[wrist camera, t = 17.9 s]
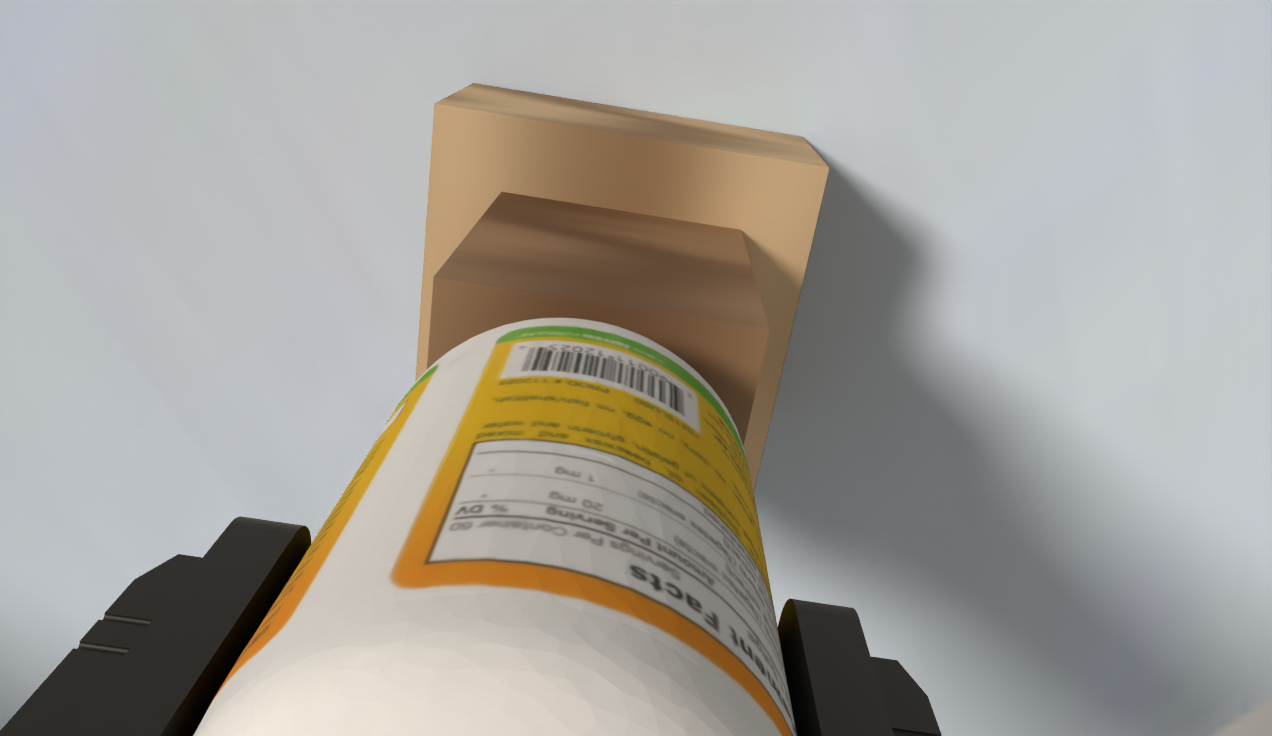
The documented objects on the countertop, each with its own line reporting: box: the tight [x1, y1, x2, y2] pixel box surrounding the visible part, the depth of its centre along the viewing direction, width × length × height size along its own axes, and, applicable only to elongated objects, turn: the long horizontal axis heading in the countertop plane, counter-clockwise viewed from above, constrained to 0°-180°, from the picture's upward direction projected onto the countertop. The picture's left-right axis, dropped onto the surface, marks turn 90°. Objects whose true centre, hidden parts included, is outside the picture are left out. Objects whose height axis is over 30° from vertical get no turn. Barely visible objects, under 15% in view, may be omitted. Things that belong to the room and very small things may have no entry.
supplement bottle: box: [193, 318, 797, 736], centre depth 9 cm, size 5×5×10 cm
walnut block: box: [427, 192, 770, 446], centre depth 17 cm, size 5×5×6 cm
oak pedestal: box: [415, 83, 829, 493], centre depth 22 cm, size 8×8×4 cm
